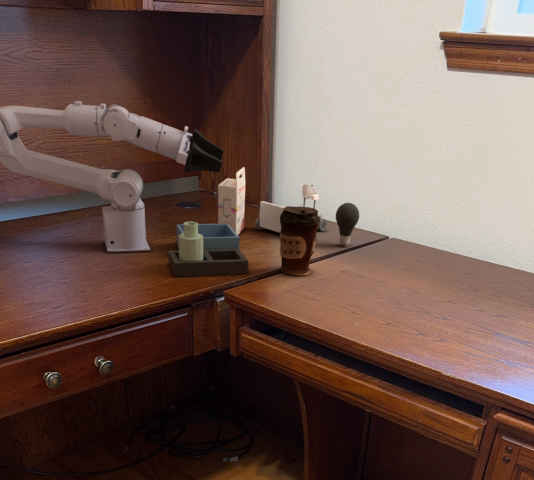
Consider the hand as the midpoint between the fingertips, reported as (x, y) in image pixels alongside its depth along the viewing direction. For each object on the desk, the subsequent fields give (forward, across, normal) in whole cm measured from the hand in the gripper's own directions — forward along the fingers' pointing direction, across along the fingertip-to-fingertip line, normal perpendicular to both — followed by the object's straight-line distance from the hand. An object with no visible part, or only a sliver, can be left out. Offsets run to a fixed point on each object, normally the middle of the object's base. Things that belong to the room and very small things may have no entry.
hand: (221, 161), depth 143 cm
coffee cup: (+21, -15, +12) cm, 28 cm away
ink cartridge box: (+8, +13, +20) cm, 25 cm away
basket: (+2, -3, +19) cm, 19 cm away
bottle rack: (+3, -16, +17) cm, 23 cm away
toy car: (+24, +18, +16) cm, 34 cm away
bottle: (-1, -17, +18) cm, 24 cm away
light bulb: (+34, +6, +11) cm, 36 cm away
